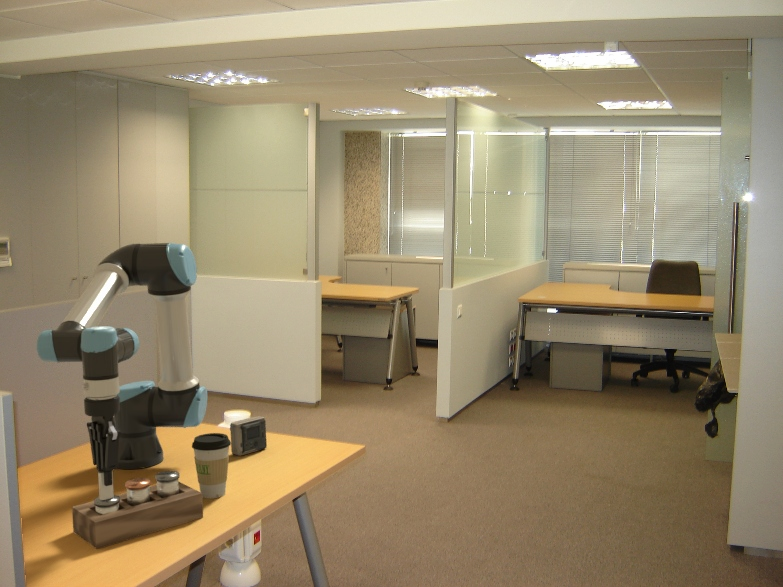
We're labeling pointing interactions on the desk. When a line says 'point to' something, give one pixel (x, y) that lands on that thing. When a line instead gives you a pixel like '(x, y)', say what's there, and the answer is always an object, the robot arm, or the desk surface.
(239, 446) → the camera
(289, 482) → the desk surface
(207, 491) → the coffee cup
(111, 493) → the robot arm
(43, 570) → the desk surface
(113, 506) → the grey plunger front
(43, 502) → the desk surface
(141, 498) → the terracotta plunger
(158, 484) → the ball
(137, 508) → the wooden jar holder
